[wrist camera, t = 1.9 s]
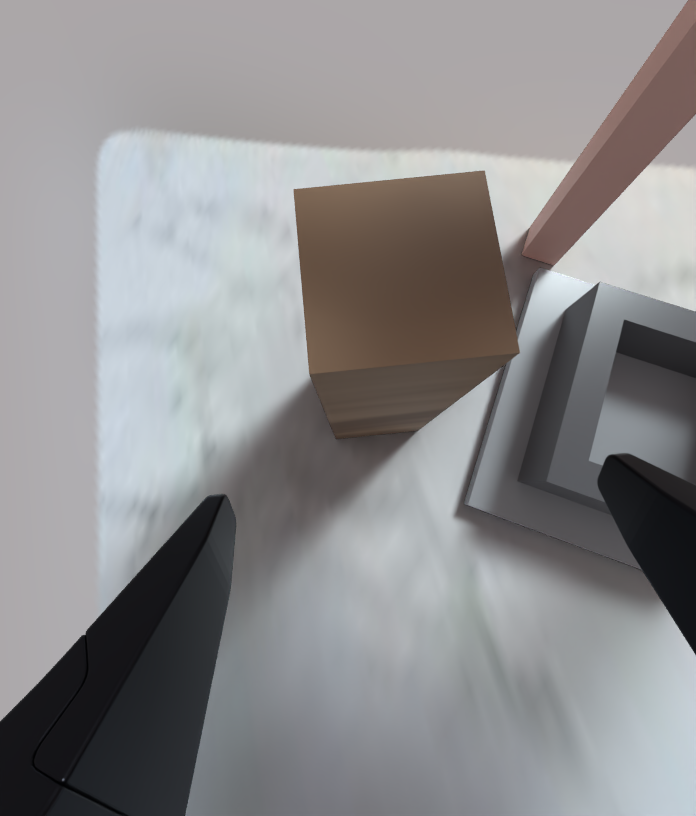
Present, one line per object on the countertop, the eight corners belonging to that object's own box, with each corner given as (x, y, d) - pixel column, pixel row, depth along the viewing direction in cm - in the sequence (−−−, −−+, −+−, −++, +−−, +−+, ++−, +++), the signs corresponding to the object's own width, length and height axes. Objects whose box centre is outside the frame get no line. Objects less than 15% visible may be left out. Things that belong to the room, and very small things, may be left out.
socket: (733, 604, 19) (826, 634, 15) (463, 504, 20) (488, 509, 16) (776, 351, 21) (866, 324, 18) (533, 274, 22) (569, 233, 19)
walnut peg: (417, 430, 21) (520, 352, 8) (335, 439, 21) (309, 374, 8) (407, 352, 22) (484, 171, 9) (328, 360, 22) (293, 189, 9)
